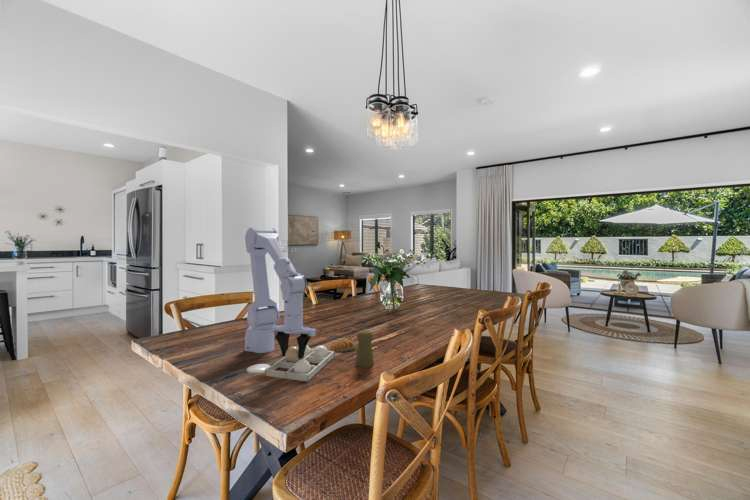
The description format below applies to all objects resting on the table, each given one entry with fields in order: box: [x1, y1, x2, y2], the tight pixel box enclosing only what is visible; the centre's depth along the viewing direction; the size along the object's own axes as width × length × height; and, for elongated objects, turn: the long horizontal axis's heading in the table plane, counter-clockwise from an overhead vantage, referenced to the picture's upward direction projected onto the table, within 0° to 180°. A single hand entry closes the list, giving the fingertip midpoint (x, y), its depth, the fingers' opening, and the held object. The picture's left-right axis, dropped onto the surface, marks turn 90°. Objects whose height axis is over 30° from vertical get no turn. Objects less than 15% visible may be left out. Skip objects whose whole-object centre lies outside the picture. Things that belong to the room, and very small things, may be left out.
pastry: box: [329, 338, 357, 353], centre depth 118 cm, size 9×7×4 cm
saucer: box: [246, 363, 271, 374], centre depth 98 cm, size 7×7×1 cm
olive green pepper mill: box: [355, 329, 375, 368], centre depth 104 cm, size 6×6×11 cm
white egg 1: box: [296, 344, 311, 356], centre depth 108 cm, size 5×5×5 cm
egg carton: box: [264, 348, 336, 382], centre depth 101 cm, size 14×20×2 cm
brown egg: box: [285, 346, 299, 363], centre depth 102 cm, size 5×5×5 cm
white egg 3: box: [313, 345, 329, 358], centre depth 107 cm, size 5×5×5 cm
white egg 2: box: [294, 359, 311, 374], centre depth 94 cm, size 5×5×5 cm
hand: (293, 356), depth 102 cm, fingers open, 5 cm apart
